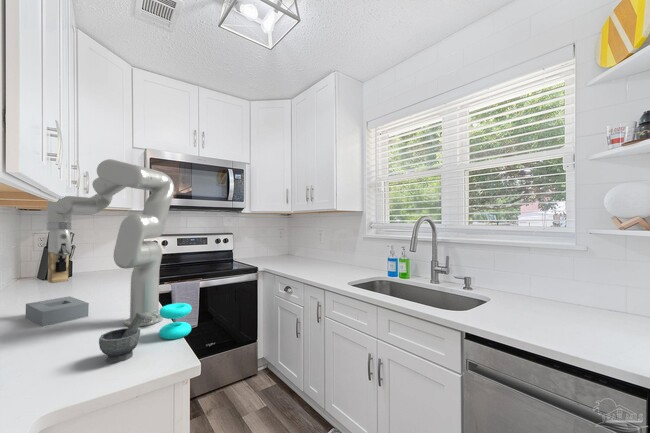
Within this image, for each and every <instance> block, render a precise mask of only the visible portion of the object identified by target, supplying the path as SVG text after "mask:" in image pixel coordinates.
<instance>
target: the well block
mask: <svg viewBox="0 0 650 433" xmlns="http://www.w3.org/2000/svg"><path fill="white" fill-rule="evenodd" d="M89 308H90V307H89V302H87V301H84V300H81V299H79V298H75V297H73V296H70V295H69V296H63V297H58V298H53V299H47V300H45V299H44V300H40V301H35V302H28V303H25V318H26V319H28V320H30V321H31V322H33V323H35V324H36V325H39V326H40V327H43V328H44V327H48V326H51V325H52V326H53V325H56V324H60V323H65V322H69V321H74V320H78V319H82V318H86V317H87V318H88V317H89Z"/></svg>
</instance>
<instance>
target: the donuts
mask: <svg viewBox="0 0 650 433" xmlns="http://www.w3.org/2000/svg"><path fill="white" fill-rule="evenodd" d="M191 312H192V305H191V304H189V303H186V302H178V303H176V302H175V303H170V304H166V305H163V306H162V307H161V308H159V314H160V316H161V317H163V319H167V320H175V319H181V318H184V317H186V316H188V315H189V314H190V313H191ZM191 332H192V326H191V324H190V323H188V322H185V321H174V322H170V323H167V324H165V325H163V326H162V327H161V328H160V329H159V332H158V335H159V336H158V337H160V338H162V339H164V340H176V339H181V338H183V337H186V336H188V335H189V334H190V333H191ZM182 336H183V337H182Z"/></svg>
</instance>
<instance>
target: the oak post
mask: <svg viewBox="0 0 650 433" xmlns="http://www.w3.org/2000/svg"><path fill="white" fill-rule="evenodd" d="M47 253H48V254H47V282H48V283H50V284H57V283H58V284H59V283H64V282H69V265H70V264H69V263H70V262H69V258H70V257H69V255H70V254H68V253H67V256H66V257H67V258H66V260H67V261H66V271H64V272H56V271H55V269H56V262H57V258H56V255H55V254H54V253H51V252H47ZM58 254H62V253H58ZM59 258H60V256H59Z"/></svg>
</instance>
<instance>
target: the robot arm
mask: <svg viewBox="0 0 650 433" xmlns="http://www.w3.org/2000/svg"><path fill="white" fill-rule="evenodd" d="M96 175H97V176H98V177H96V178H95V179H93V181H92V188H93V190H94V191H95V193H96V194H94V195H92V196H91V197H88V196H87V197H86V196H74V195H65V197H64V196H63V197H64V198H62V199H59V200H58V201H57V202H50V201H46V232H48V240H47V242H48V244H47V251H48V252H51V253H54V254H55V255H56V258H57V262H56V269H55V271H56V272H64V271H66V261H67V260H66V258H67V257H66V256H67V253H68V254H69V255H70V254H71V253H72V238H71V237H72V236H71V231H72V218H73V217H72V215H73V216H78V215H80V216H81V215H82V216H83V215H84V216H92V215H96V214H98V213H100V212H102V211H103V210H105V209H106V208H107V207H109V206H110V204H111V203H112V200H113V196H115V195H116V194H118V193H120V192H121V191H122V190H124V189H126V188H131V189H136V190H143V191H144V190H145V191H150V192H151V194H150V195H149V196H148V197H147V198H146V200H145V202H144V205H143V206H144V207H143V210H142V213H132V214H129V215H127V216H126V217H125V218H124V219H123V220H122V222H121V223H120V225H119V229H118V233H117V235H116V236H117V237H116V241H115V245H114V250H113V261H114V263H115V265H116V266H117V267H118V268H121V269H124V270H125V269H132V271H131V276H130V297H129V299H130V300H129V301H130V302H129V305H130V307H129V318H127V319H126V320H125V321H124V325H125V326H127V327H129V326H130V324H131V323H132V321H133V320H134V318H135V317H136V313H143V314H145V315H146V317H145V318H144V319H143V320H142V322H141V324H140V326H139V327H144V326H145V327H146V326H149V325H155V324H157V323H159V322H161V321H162V320H163V319H164V318H163V317H161V316H160V314H159V311H160V307H159V306H160V305H159V304H160V302H159V301H160V300H159V299H160V297H159V296H160V267H161V264H162V263H161V262H162V257H163V249H162V247H161V245H160V244H159V243H158V242H156V241H152V240H149V239H156V238H159V237H161V236H162V235H163V233H164V230H165V228H166V223H167V219H168V215H169V211H170V207H171V203H172V200H173V198H174V194H175V185H174V181H173V179H172V178H171V177H170V175H167V174H166V173H165V172H162V171H159V170H156V169H152V168H149V167H145V166H140V165H136V164H132V163H127V162H125V161H120V160H116V159H110V158H109V159H105V160H102V161H101V162H100V163H99V164H98V165H97V168H96ZM147 239H148V240H147ZM48 252H47V253H48ZM58 253H62V254H58ZM59 256H60V258H59Z"/></svg>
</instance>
